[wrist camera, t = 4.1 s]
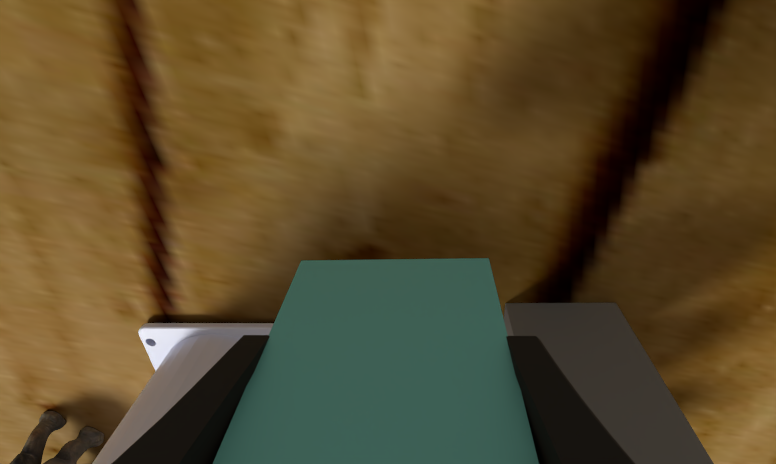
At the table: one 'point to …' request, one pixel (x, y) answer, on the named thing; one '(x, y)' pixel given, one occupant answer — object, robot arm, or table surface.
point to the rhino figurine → (69, 453)
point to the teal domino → (384, 370)
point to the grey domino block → (612, 377)
